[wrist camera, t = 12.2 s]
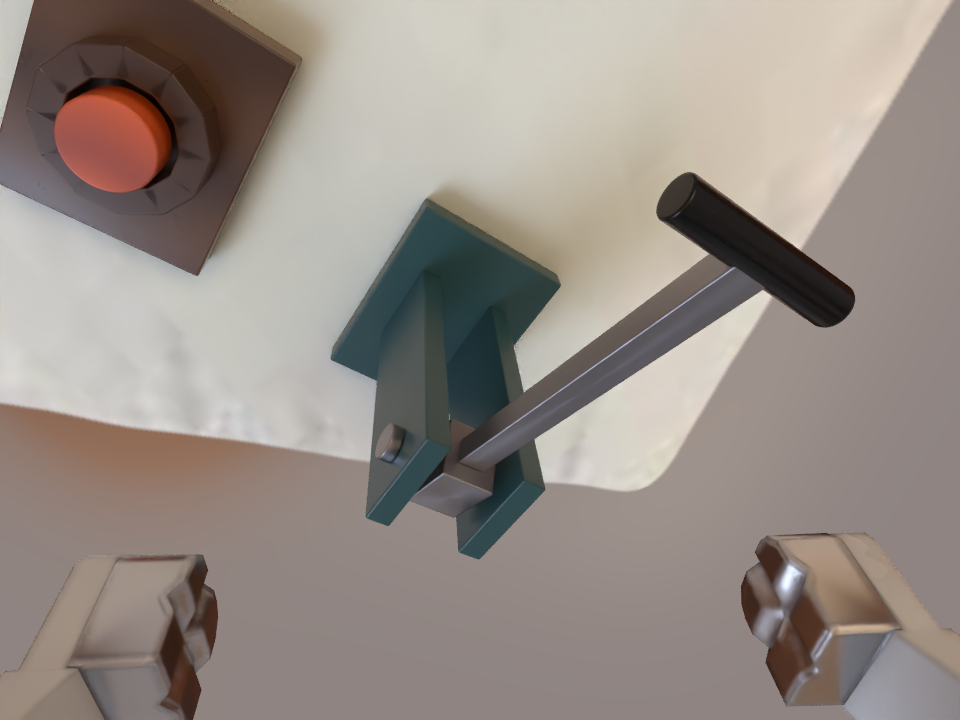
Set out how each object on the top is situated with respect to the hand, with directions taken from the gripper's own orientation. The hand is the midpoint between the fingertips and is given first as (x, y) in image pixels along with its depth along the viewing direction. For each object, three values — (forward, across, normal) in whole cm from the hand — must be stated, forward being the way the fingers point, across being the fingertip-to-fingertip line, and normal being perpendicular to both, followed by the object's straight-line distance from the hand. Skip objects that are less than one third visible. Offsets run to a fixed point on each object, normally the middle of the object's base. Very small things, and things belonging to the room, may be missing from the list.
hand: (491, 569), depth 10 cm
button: (+21, +12, 0) cm, 24 cm away
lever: (+11, -4, +4) cm, 12 cm away
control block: (+24, +12, 0) cm, 27 cm away
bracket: (+24, 0, +10) cm, 26 cm away
